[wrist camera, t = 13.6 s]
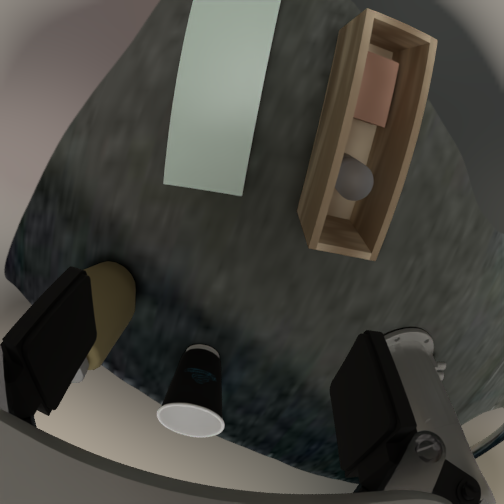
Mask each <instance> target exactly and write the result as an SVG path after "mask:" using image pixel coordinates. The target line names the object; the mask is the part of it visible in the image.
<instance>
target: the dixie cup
mask: <svg viewBox="0 0 504 504" xmlns="http://www.w3.org/2000/svg"><path fill="white" fill-rule="evenodd" d="M157 418H158V419H159V421H160V422H161V423H162V424H163V425H164V426H165V427H166V428H168V429H170V430H172V431H174V432H176V433H179V434H182V435H186V436H191V437H211V436H214V435H217V434H219V433H220V432H222V431H223V429H224V426H225V424H224V421H223V419H222V388H221V361H220V359H219V354H218V352H217V351H216V350H215V349H213V348H212V347H210V346H207V345H202V344H196V345H192V346H190V347H189V348H187V350H186V352H185V353H184V354H183V355H182V358H181V360H180V362H179V365H178V367H177V370H176V372H175V374H174V377H173V379H172V382H171V384H170V387H169V389H168V391H167V394H166V396H165V399H164V401H163V404H162V406H161V407H160V408H159V409H158V410H157Z"/></svg>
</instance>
